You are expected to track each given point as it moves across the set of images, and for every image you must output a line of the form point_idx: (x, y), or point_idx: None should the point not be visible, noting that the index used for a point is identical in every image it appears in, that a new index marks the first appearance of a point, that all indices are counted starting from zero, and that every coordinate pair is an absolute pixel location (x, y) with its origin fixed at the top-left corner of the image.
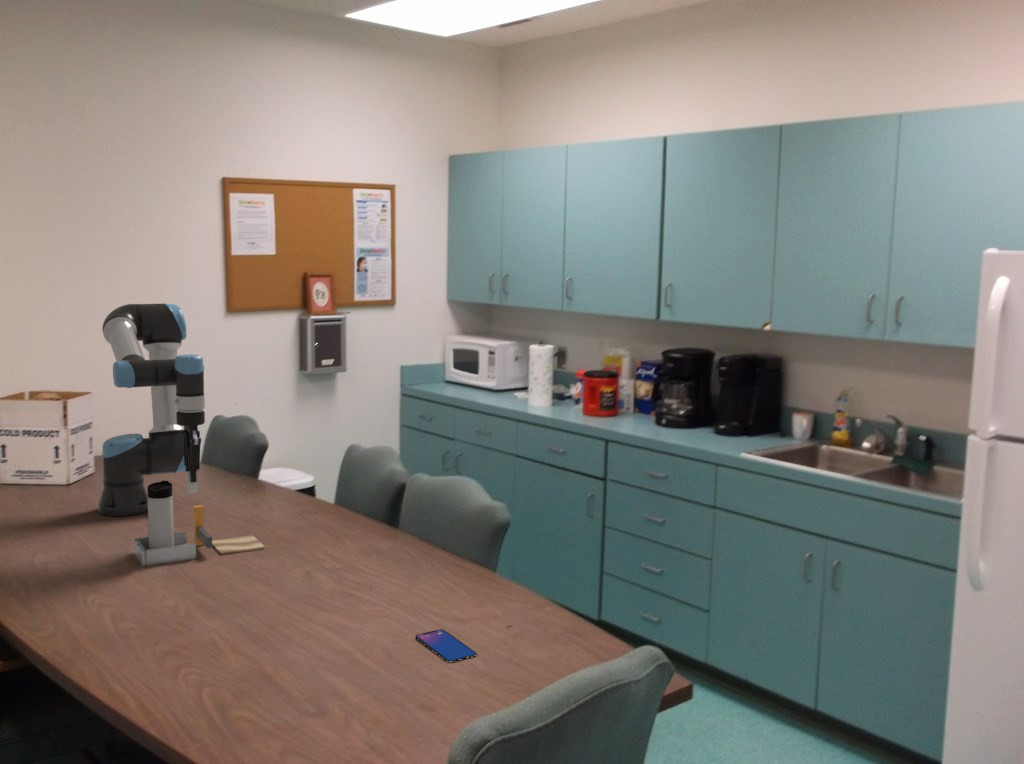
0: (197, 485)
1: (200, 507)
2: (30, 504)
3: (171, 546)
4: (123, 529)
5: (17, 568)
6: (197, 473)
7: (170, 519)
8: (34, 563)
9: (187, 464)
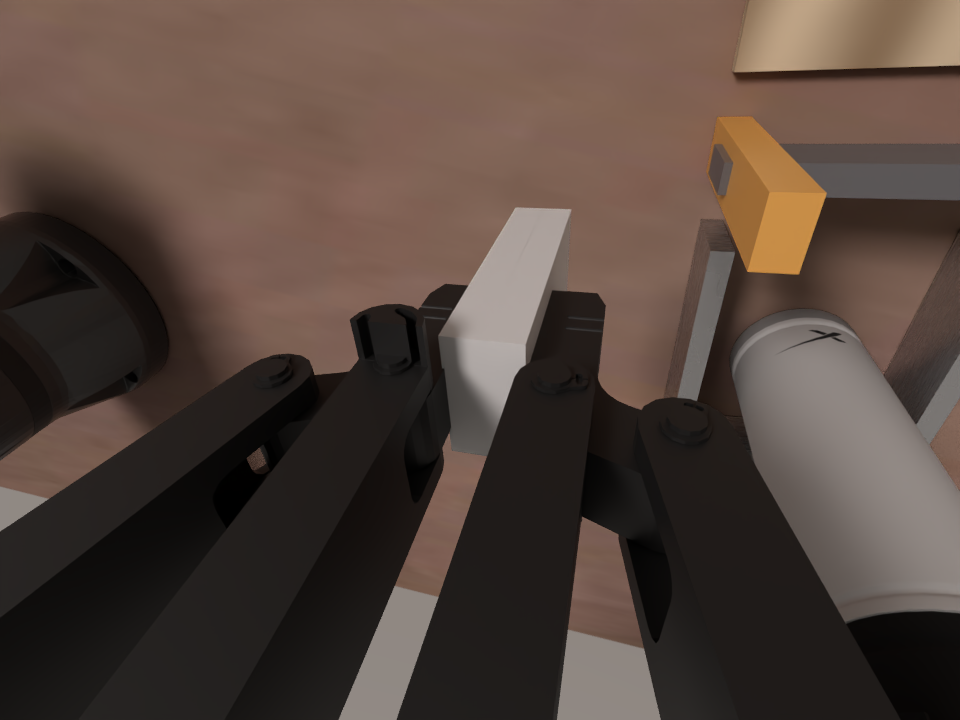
0: (560, 245)
1: (815, 220)
2: (61, 475)
3: (945, 387)
4: (330, 367)
5: (608, 629)
6: (535, 317)
7: (952, 480)
8: (588, 602)
9: (422, 505)
